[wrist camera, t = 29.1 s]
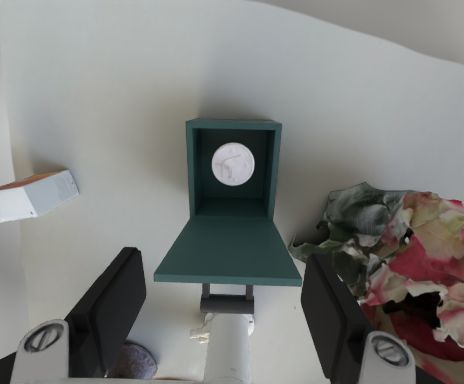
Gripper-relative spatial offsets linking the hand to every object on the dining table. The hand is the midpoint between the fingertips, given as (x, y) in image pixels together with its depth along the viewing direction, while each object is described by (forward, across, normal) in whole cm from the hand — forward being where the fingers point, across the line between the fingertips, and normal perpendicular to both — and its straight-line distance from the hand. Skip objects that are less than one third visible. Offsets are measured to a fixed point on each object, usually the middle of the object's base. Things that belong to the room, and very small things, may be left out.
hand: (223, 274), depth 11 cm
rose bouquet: (+34, -29, +16) cm, 47 cm away
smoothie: (+33, 0, 0) cm, 33 cm away
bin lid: (+16, 0, +8) cm, 18 cm away
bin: (+34, 0, +2) cm, 34 cm away
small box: (+34, +36, +8) cm, 50 cm away
